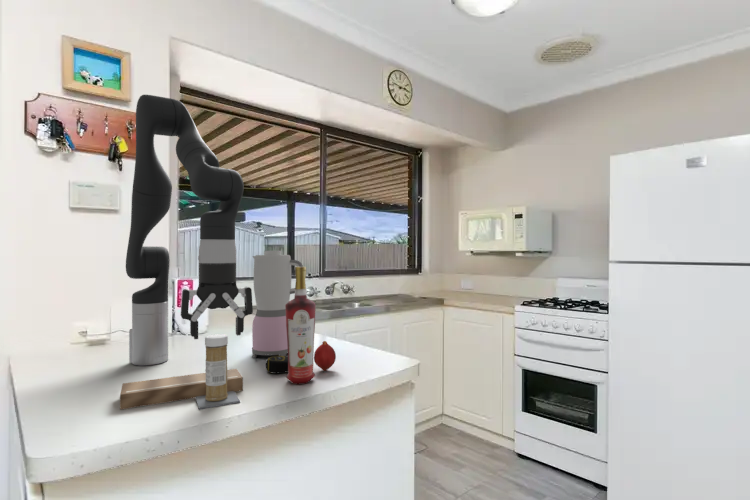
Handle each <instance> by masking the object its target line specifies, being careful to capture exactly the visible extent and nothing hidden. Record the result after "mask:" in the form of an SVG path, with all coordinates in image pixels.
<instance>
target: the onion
mask: <svg viewBox="0 0 750 500" xmlns="http://www.w3.org/2000/svg"><path fill="white" fill-rule="evenodd" d="M336 357H337V356H336V351H335V349H334V348H333V347H332V346H331V345H330V344H328V342H327V341H326V340H324V341H322V344H321V345H319V346H317V348H316V349H315V350H314V353H313V363H315V365H316V366H317V367H318V368H320V369H321V370H322V371H323V372H326V371H328V370H329V369H330V368H332V367H333V365H334V364H335V362H336Z"/></svg>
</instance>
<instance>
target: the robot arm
mask: <svg viewBox="0 0 750 500" xmlns="http://www.w3.org/2000/svg"><path fill="white" fill-rule="evenodd" d="M155 136H166V137H178V140H177V141H176V144H175V152H176V153H175V154H176V157H177V159H178V160H179V162H180V163H181V165H182V166H183V168H184V169H185V170H186V171H187V175H188V179H189V183H190V189H191V192H192V193H193V194H194V195H195V196H196V197H198V198H200V199H202V200H206V201H207V200H208V201H209V200H210V201H216V202H217V201H220V203H219V206H218V209H216V210H213V211H212V210H211V211H206V212H204V213H202V214H201V215H200V220H199V227H200V228H199V233H200V234H199V247H198V258H197V259H198V286H197V289H188V288H184V289H182V291H181V292H182V293H181V304H180V305H181V306H180V308H181V309H180V316H181V319H183V320H187V321H189V327H190V329H189V331H190V332H189V333H190V336H191V338H193V339H194V340H199V320H198V319H199V318H200V317H201V316H202V314H204V312H205V311H206V309H210V310H215V309H223V310H224V309H227V308H228V307H229V308H230V309H231V310H232V311H233V313H235V315H236V317H235V335H236V336H237V337H238V336H242V333H243V332H244V329H245V328H244V327H245V326H244V325H245V317H247V316H248V315H253V312H254V309H253V308H254V307H253V293H252V288H251V287H249V286H244V287H238V285H237V247H236V245H237V244H236V219H237V215H238V213H239V207H240V205H241V202H242V197H243V194H244V191H245V190H244V189H245V186H244V180H243V178H242V175H241V174H240V173H239V172H238V171H237V170H234V169H229V168H224V167H220V162H219V159H218V158H217V156H216V154H215V153H214V152H213V151H212V150H211V148H210V147H209V146H208V144H206V142H205V141H204V139H203V138H202V136H201V134H200V132H199V130H198V128H197V126H196V123H195V122H194V119H193V117H192V116H191V114H190V111H189V110H188V108H187V106H185V104H184V103H183V102H182V101H180V100H177V99H175V98H169V97H164V96H158V95H152V94H142V95H140V96H139V98H138V100H137V102H136V108H135V161H134V162H135V163H134V172H133V173H134V174H133V180H132V181H133V182H132V194H131V213H130V214H131V216H130V217H131V218H130V228H129V236H128V243H127V250H126V257H125V258H126V259H125V273H126V275H127V277H129V279H133V280H141V279H143V280H144V279H146V280H147V279H154V282H153V283H152V284H151V285H148V286H147V287H145V288H143V289H140V290H137V291H135V292H133V293H132V296H131V329H129V332H128V334H129V335H128V336H129V337H128V338H129V340H128V341H129V343H128V345H129V348H128V352H129V353H128V355H129V358H128V360H129V361H128V362H129V364H130V363H131V364H132V365H135V366H152V365H158V364H162V363H165V362H168V360H169V278H170V277H169V275H170V252H169V250H168V248H166V247H165V246H144V243H145V241H146V239H147V237H148V236H149V234H150V232H151V231H152V230H153V229H154V228H155V227H156V226H157V225H158V224H159V223H160V221H162V219H163V218H164V217H165V216H166V214H168V212H169V210H170V208H171V201H172V195H173V194H172V192H173V184H172V181H171V178H170V176H169V175H168V173H167V171H166V170H165V168H164V167H163V165H162V163H161V161H160V159H159V158H158V155H157V152H156V149H155V144H154V143H155V141H154V139H155ZM239 294H240V295H241V296H240V297H242V298H243V300H244V308H243V309H241V308H240V307H239V305H238V304H237V303H236V302H235V301H234V300H235V299H236V297H238V295H239ZM194 296H197V298H198V299H199V300H200V303H198V304H197V306H196V307H195V309H194V310H193V312H192V313H191V312H189V307H190V306H189V305H190V301H192V300H193V299H194Z"/></svg>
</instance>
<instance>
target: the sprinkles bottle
mask: <svg viewBox="0 0 750 500" xmlns="http://www.w3.org/2000/svg"><path fill="white" fill-rule="evenodd" d="M228 337H229V336H228V335H227V334H223V333H218V334H217V333H215V334H209V335H207V336H205V337H204V346H205V373H206V397H205V399H206V400H207V401H220V400H224V399H225V398H227V396H228V394H227V370H228V344H229V340H228V339H229V338H228Z"/></svg>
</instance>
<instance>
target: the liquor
mask: <svg viewBox="0 0 750 500" xmlns="http://www.w3.org/2000/svg"><path fill="white" fill-rule="evenodd" d="M294 276H295V287H294V288H295V293H294V297H293V299H290V300H289V302H288V303H287V304H286V305H285V308H286V329H287V346H288V353H287V356H288V372H287V375H286V379H287V380H288V381H290V382H291V383H292V384H294V385H304V384H308V383H310V382H311V381H312V380H313V379H314V378H315V377H316V374H315V373H314V353H315V350H314V349H315V346H314V345H315V329H316V307H317V305H316V303H315V301H313V300H311V299H309V298H308V297H307V287H306V286H307V285H306V277H307V266H303V267H297V266H295V267H294Z"/></svg>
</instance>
